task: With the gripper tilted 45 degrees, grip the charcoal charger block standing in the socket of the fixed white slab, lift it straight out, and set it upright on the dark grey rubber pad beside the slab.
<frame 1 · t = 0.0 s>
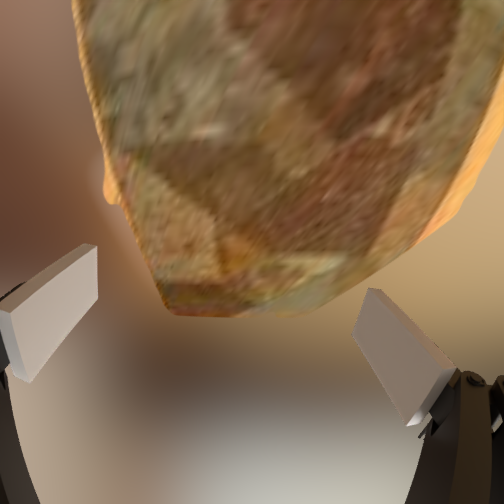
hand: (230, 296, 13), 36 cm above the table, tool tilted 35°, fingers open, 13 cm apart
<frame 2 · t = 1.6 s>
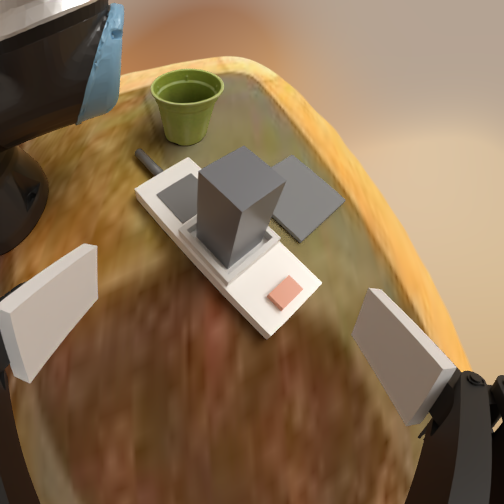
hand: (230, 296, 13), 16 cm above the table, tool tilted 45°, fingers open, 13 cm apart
charger: (228, 239, 30), point 2 cm above the table, touching white slab
pad: (295, 195, 37), on the table
white slab: (220, 241, 32), on the table
plant pot: (185, 134, 40), on the table
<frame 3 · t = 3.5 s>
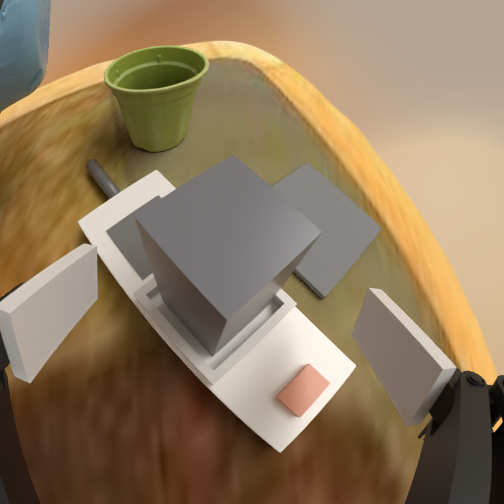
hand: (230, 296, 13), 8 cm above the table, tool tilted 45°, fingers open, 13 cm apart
charger: (214, 305, 19), point 2 cm above the table, touching white slab
pad: (313, 223, 26), on the table
white slab: (203, 303, 21), on the table
plant pot: (159, 135, 28), on the table
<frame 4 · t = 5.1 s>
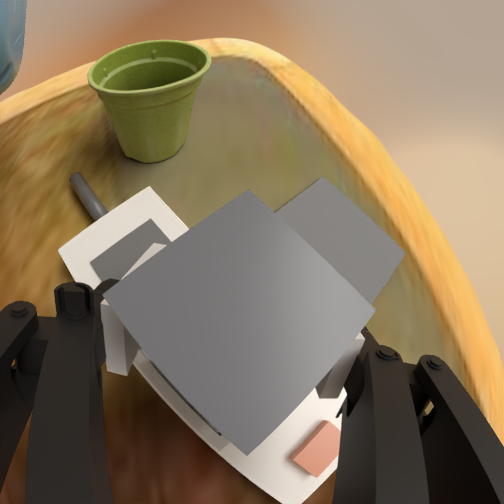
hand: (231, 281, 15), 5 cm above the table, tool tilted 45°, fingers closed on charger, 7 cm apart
charger: (219, 357, 15), point 2 cm above the table, touching gripper, white slab
pad: (332, 249, 22), on the table
white slab: (206, 348, 17), on the table
plant pot: (153, 143, 25), on the table
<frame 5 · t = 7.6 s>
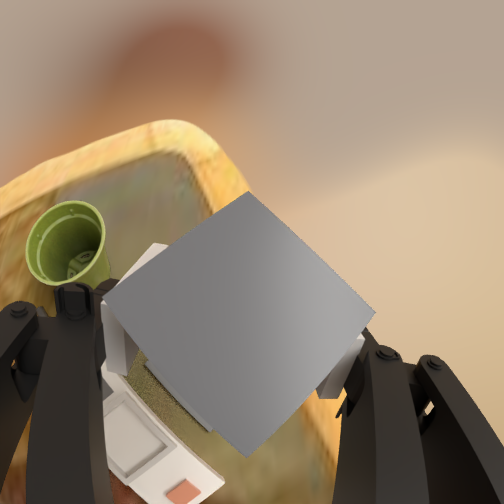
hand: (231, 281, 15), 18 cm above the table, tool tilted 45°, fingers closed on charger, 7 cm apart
charger: (219, 358, 15), point 16 cm above the table, touching gripper
pad: (209, 369, 29), on the table
white slab: (124, 429, 24), on the table
plant pot: (89, 274, 32), on the table
when the fingers open (5 cm above the table, at t = 10.5 s): charger drops 1 cm, resting on pad.
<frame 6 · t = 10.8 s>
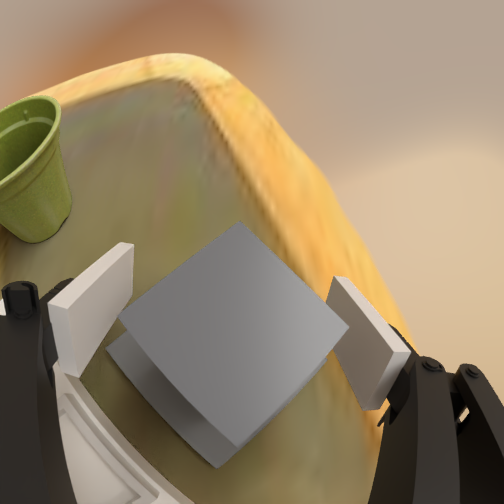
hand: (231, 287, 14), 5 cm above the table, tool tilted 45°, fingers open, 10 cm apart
charger: (217, 361, 17), point 1 cm above the table, touching pad
pad: (217, 360, 17), on the table
white slab: (75, 455, 12), on the table
plant pot: (43, 214, 20), on the table
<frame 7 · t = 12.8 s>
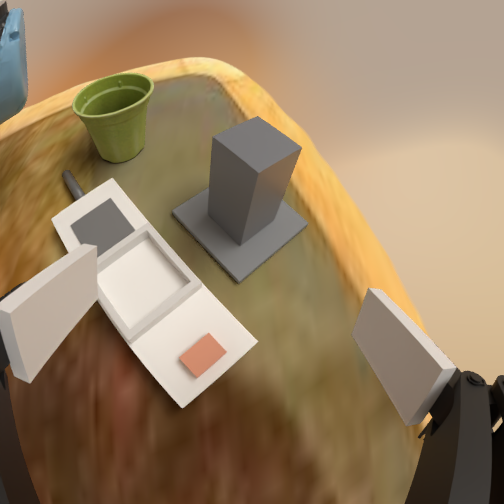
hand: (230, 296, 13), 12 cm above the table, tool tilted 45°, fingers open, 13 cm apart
charger: (241, 216, 29), point 1 cm above the table, touching pad
pad: (240, 219, 30), on the table
white slab: (138, 282, 25), on the table
plant pot: (122, 148, 33), on the table
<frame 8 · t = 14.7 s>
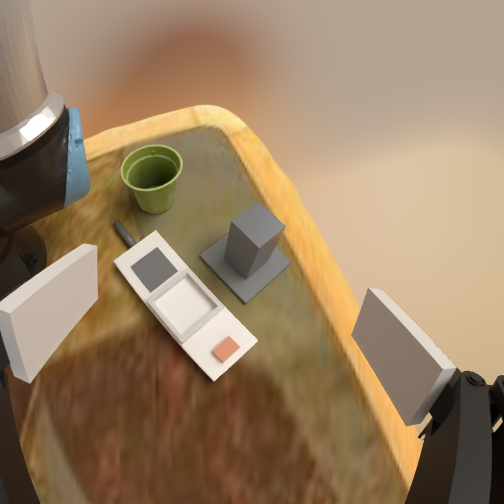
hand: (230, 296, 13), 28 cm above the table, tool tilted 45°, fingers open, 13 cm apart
charger: (246, 259, 44), point 1 cm above the table, touching pad
pad: (246, 260, 45), on the table
white slab: (181, 304, 40), on the table
plant pot: (156, 201, 47), on the table
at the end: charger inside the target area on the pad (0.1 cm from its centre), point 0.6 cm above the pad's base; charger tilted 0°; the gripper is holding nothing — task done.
